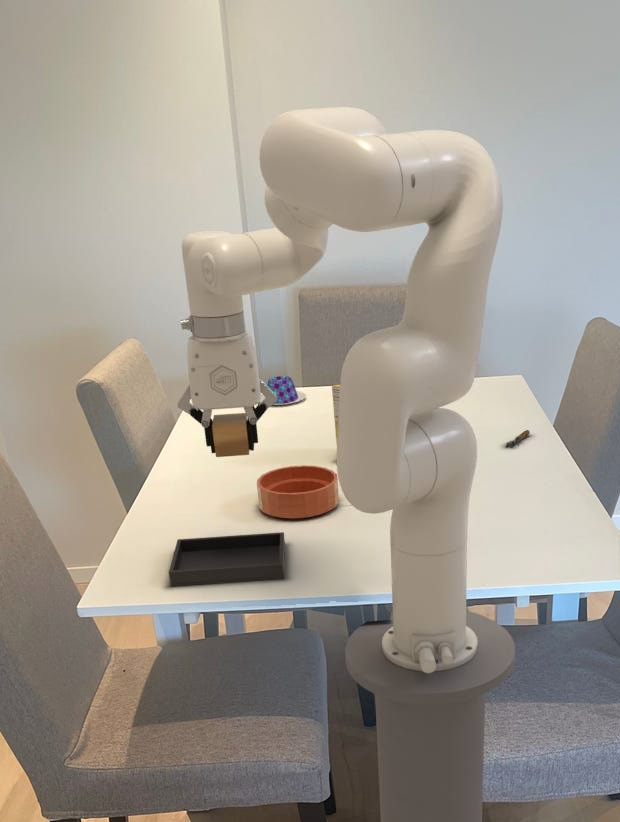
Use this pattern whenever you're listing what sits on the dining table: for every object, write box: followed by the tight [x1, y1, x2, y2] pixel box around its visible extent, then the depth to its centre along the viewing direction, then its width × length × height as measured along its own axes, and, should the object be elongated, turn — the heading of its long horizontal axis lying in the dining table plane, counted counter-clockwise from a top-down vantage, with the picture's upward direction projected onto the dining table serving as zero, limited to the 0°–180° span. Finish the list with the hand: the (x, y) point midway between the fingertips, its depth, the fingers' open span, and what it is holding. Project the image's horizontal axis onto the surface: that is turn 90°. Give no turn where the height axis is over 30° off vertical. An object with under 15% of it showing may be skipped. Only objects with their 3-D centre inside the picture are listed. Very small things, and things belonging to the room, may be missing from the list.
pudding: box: [259, 375, 307, 406], centre depth 224 cm, size 12×12×5 cm
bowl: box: [256, 464, 340, 519], centre depth 165 cm, size 14×14×5 cm
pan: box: [168, 531, 286, 587], centre depth 145 cm, size 12×17×2 cm
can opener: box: [505, 429, 531, 447], centre depth 189 cm, size 9×2×1 cm, turn 140°
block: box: [212, 412, 251, 458], centre depth 140 cm, size 5×5×5 cm
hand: (233, 447), depth 141 cm, fingers closed on block, 5 cm apart
